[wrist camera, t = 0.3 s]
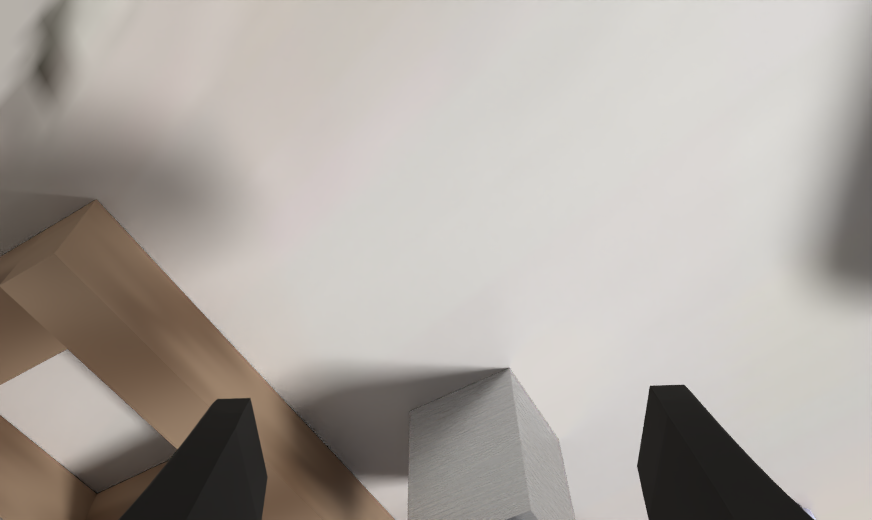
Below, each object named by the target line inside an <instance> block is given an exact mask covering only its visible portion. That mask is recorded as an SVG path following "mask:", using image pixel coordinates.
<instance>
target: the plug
mask: <svg viewBox="0 0 872 520" xmlns="http://www.w3.org/2000/svg"><path fill="white" fill-rule="evenodd" d="M408 520H575V515H574V511H573V506H572V501H571V496H570V491H569V486H568V482H567V477H566V472H565V467H564V462H563V457H562V453H561V448H560V443H559V439H558V437H557V436H556V434H555V433H554V432H553V430H552V429H551V427H550V426H549V424H548V423H547V421H546V420H545V418H544V417H543V416H542V414H541V413H540V411H539V410H538V408H537V407H536V405H535V404H534V402H533V401H532V400H531V398H530V397H529V395H528V394H527V392H526V391H525V389H524V388H523V386H522V385H521V384H520V382H519V381H518V379H517V378H516V376H515V375H514V373H513V372H512V370H511V369H510V368H508V369H505V370H503V371H501V372H498V373H496V374H494V375H492V376H489V377H487V378H485V379H483V380H480V381H478V382H476V383H473V384H471V385H469V386H467V387H464V388H462V389H460V390H457V391H455V392H453V393H451V394H448V395H446V396H444V397H442V398H439V399H437V400H435V401H432V402H430V403H428V404H426V405H423V406H421V407H419V408H416V409H414V410H412V411H410V422H409V473H408Z"/></svg>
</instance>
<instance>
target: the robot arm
mask: <svg viewBox="0 0 872 520" xmlns="http://www.w3.org/2000/svg"><path fill="white" fill-rule="evenodd" d="M637 467H638V472H639V477H640V482H641V487H642V491H643V496H644V501H645V505H646V509H647V514H648V518H649V520H816V519H815V517H814V515H813V513H812V511H811V510H810V509H807V508H801V507H800V506H799V505H798V504H797V503H796V502H795V501H794V500H793V499H792V498H790V497H789V496H788V495H787V494H786V493H785V492H784V491H783V490H782V489H781V488H780V487H779V486H778V485H777V484H776V483H775V482H774V481H773V480H772V479H771V478H770V477H769V476H768V475H767V474H766V473H765V472H764V471H763V470H762V469H761V468H760V467H759V466H758V465H757V464H756V463H755V462H754V461H753V460H752V459H751V458H750V457H749V456H748V455H747V453H746V452H745V451H744V450H743V449H742V448H741V447H740V446H739V445H738V444H737V443H736V442H735V441H734V440H733V438H732V437H731V436H730V435H729V434H728V433H727V432H726V431H725V430H724V429H723V427H722V426H721V425H720V424H719V423H718V422H717V421H716V420H715V419H714V417H713V416H712V415H711V414H710V413H709V412H708V411H707V410H706V408H705V407H704V406H703V405H702V404H701V403H700V402H699V400H698V399H697V398H696V397H695V396H694V395H693V394H692V392H691V391H690V390H689V389H688V388H687V387H686V386H685V385H662V386H650V389H649V395H648V402H647V408H646V414H645V420H644V427H643V433H642V439H641V445H640V452H639V458H638V464H637ZM267 478H268V476H267V472H266V467H265V462H264V458H263V453H262V448H261V444H260V439H259V435H258V430H257V425H256V421H255V416H254V411H253V407H252V402H251V398H232V399H217V400H216V401H215V402H214V403H212V405H211V406H210V407H209V409H208V410H207V411H206V413H205V414H204V415H203V417H202V418H201V419H200V421H199V422H198V423H197V425H196V426H195V427H194V429H193V430H192V431H191V433H190V434H189V435H188V437H187V438H186V439H185V440H184V442H183V443H182V444H181V446H180V447H179V448H178V449H177V451H176V452H175V453H174V455H173V456H172V457H171V458H170V460H169V461H168V462H167V463H166V465H165V466H164V467H163V468H162V469H161V471H160V472H159V473H158V474H157V476H156V477H155V478H154V479H153V480H152V482H151V483H150V484H149V485H148V486H147V488H146V489H145V490H144V491H143V492H142V494H141V495H140V496H139V497H138V498H137V499H136V500H135V502H134V503H133V504H132V505H131V506H130V507H129V508H128V509H127V510H126V511H125V513H124V514H123V515H122V516H121V517H120V518H119V519H118V520H262V514H263V507H264V500H265V493H266V485H267Z"/></svg>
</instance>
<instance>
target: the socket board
mask: <svg viewBox="0 0 872 520" xmlns="http://www.w3.org/2000/svg"><path fill="white" fill-rule="evenodd" d="M66 349H68V350H69V351H70V352H72V353H73V354H74V355H75V356H76V357H77V358H78V359H79V360H80V361H81V362H82V363H84V364H85V365H86V366H87V367H88V368H89V369H90V370H91V371H92V372H93V373H94V374H95V375H97V376H98V377H99V378H100V379H101V380H102V381H103V382H104V383H105V384H106V385H107V386H109V387H110V388H111V389H112V390H113V391H114V392H115V393H116V394H117V395H118V396H119V397H121V398H122V399H123V400H124V401H125V402H126V403H127V404H128V405H129V406H130V407H131V408H133V409H134V410H135V411H136V412H137V413H138V414H139V415H140V416H141V417H142V418H143V419H145V420H146V421H147V422H148V423H149V424H150V425H151V426H152V427H153V428H154V429H155V430H157V431H158V432H159V433H160V434H161V435H162V436H163V437H164V438H165V439H166V440H167V441H168V442H170V443H171V444H172V445H173V446H174V447H175V448H176V449H178V448H179V447H180V446H181V444H182V443H183V442H184V440H185V439H186V438H187V437H188V435H189V434H190V433H191V431H192V430H193V429H194V427H195V426H196V425H197V423H198V422H199V421H200V419H201V418H202V417H203V415H204V414H205V413H206V411H207V410H208V409H209V407H210V406H211V405H212V403H214V402H215V401H216V400H217V399H232V398H251V402H252V407H253V411H254V416H255V421H256V425H257V430H258V435H259V439H260V444H261V448H262V453H263V458H264V462H265V467H266V472H267V476H268V478H267V485H266V493H265V500H264V507H263V514H262V520H395V519H394V518H393V517H392V516H391V515H390V514H389V513H388V512H387V511H386V510H385V508H384V507H383V506H382V505H381V504H380V503H379V502H378V501H377V500H376V499H375V498H374V497H373V496H372V495H371V493H370V492H369V491H368V490H367V489H366V488H365V487H364V486H363V485H362V484H361V483H360V482H359V481H358V480H357V478H356V477H355V476H354V475H353V474H352V473H351V472H350V471H349V470H348V469H347V468H346V467H345V466H344V465H343V463H342V462H341V461H340V460H339V459H338V458H337V457H336V456H335V455H334V454H333V453H332V452H331V451H330V449H329V448H328V447H327V446H326V445H325V444H324V443H323V442H322V441H321V440H320V439H319V438H318V437H317V436H316V434H315V433H314V432H313V431H312V430H311V429H310V428H309V427H308V426H307V425H306V424H305V423H304V422H303V421H302V419H301V418H300V417H299V416H298V415H297V414H296V413H295V412H294V411H293V410H292V409H291V408H290V407H289V405H288V404H287V403H286V402H285V401H284V400H283V399H282V398H281V397H280V396H279V395H278V394H277V393H276V392H275V390H274V389H273V388H272V387H271V386H270V385H269V384H268V383H267V382H266V381H265V380H264V379H263V378H262V377H261V375H260V374H259V373H258V372H257V371H256V370H255V369H254V368H253V367H252V366H251V365H250V364H249V363H248V362H247V360H246V359H245V358H244V357H243V356H242V355H241V354H240V353H239V352H238V351H237V350H236V349H235V348H234V346H233V345H232V344H231V343H230V342H229V341H228V340H227V339H226V338H225V337H224V336H223V335H222V334H221V333H220V331H219V330H218V329H217V328H216V327H215V326H214V325H213V324H212V323H211V322H210V321H209V320H208V319H207V318H206V316H205V315H204V314H203V313H202V312H201V311H200V310H199V309H198V308H197V307H196V306H195V305H194V304H193V303H192V301H191V300H190V299H189V298H188V297H187V296H186V295H185V294H184V293H183V292H182V291H181V290H180V289H179V287H178V286H177V285H176V284H175V283H174V282H173V281H172V280H171V279H170V278H169V277H168V276H167V275H166V274H165V272H164V271H163V270H162V269H161V268H160V267H159V266H158V265H157V264H156V263H155V262H154V261H153V260H152V259H151V257H150V256H149V255H148V254H147V253H146V252H145V251H144V250H143V249H142V248H141V247H140V246H139V245H138V243H137V242H136V241H135V240H134V239H133V238H132V237H131V236H130V235H129V234H128V233H127V232H126V231H125V230H124V228H123V227H122V226H121V225H120V224H119V223H118V222H117V221H116V220H115V219H114V218H113V217H112V216H111V215H110V213H109V212H108V211H107V210H106V209H105V208H104V207H103V206H102V205H101V204H100V203H99V202H98V201H97V200H94V201H93V202H91V203H89V204H88V205H86V206H84V207H83V208H81V209H79V210H78V211H76V212H74V213H73V214H71V215H69V216H68V217H66V218H64V219H63V220H61V221H59V222H58V223H56V224H54V225H53V226H51V227H49V228H48V229H46V230H44V231H43V232H41V233H39V234H38V235H36V236H34V237H33V238H31V239H29V240H28V241H26V242H24V243H23V244H21V245H19V246H18V247H16V248H14V249H13V250H11V251H9V252H7V253H6V254H4V255H2V256H1V257H0V385H1V384H3V383H5V382H7V381H9V380H10V379H12V378H14V377H16V376H18V375H20V374H22V373H23V372H25V371H27V370H29V369H31V368H33V367H35V366H36V365H38V364H40V363H42V362H44V361H46V360H48V359H49V358H51V357H53V356H55V355H57V354H59V353H61V352H63V351H64V350H66ZM167 462H168V461H167ZM167 462H164V463H162V464H160V465H158V466H156V467H154V468H152V469H149V470H147V471H145V472H143V473H141V474H139V475H136V476H134V477H132V478H130V479H128V480H126V481H123V482H121V483H119V484H117V485H115V486H113V487H111V488H108V489H106V490H104V491H102V492H100V493H98V494H96V493H95V492H94V491H93V490H91V489H90V488H89V487H88V486H86V485H85V484H84V483H83V482H81V481H80V480H79V479H78V478H77V477H75V476H74V475H73V474H72V473H70V472H69V471H68V470H67V469H66V468H64V467H63V466H62V465H61V464H59V463H58V462H57V461H56V460H54V459H53V458H52V457H51V456H50V455H48V454H47V453H46V452H45V451H43V450H42V449H41V448H40V447H38V446H37V445H36V444H35V443H34V442H32V441H31V440H30V439H29V438H27V437H26V436H25V435H24V434H22V433H21V432H20V431H19V430H18V429H16V428H15V427H14V426H13V425H11V424H10V423H9V422H8V421H7V420H5V419H4V418H3V417H2V416H0V520H118V519H119V518H120V517H121V516H122V515H123V514H124V513H125V511H126V510H127V509H128V508H129V507H130V506H131V505H132V504H133V503H134V502H135V500H136V499H137V498H138V497H139V496H140V495H141V494H142V492H143V491H144V490H145V489H146V488H147V486H148V485H149V484H150V483H151V482H152V480H153V479H154V478H155V477H156V476H157V474H158V473H159V472H160V471H161V469H162V468H163V467H164V466H165V465H166V463H167Z"/></svg>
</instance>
